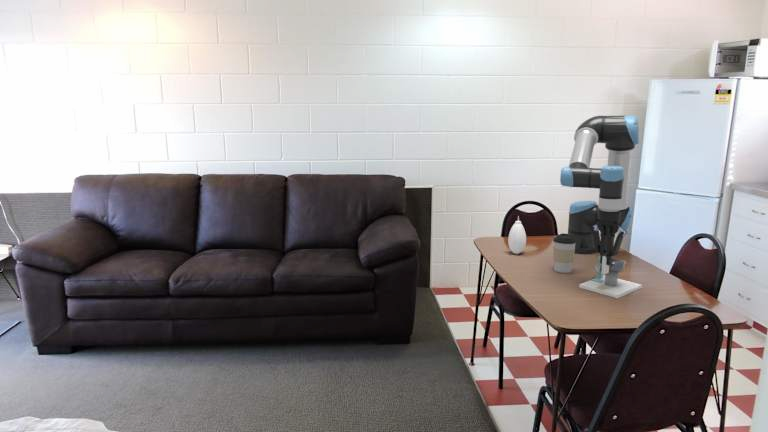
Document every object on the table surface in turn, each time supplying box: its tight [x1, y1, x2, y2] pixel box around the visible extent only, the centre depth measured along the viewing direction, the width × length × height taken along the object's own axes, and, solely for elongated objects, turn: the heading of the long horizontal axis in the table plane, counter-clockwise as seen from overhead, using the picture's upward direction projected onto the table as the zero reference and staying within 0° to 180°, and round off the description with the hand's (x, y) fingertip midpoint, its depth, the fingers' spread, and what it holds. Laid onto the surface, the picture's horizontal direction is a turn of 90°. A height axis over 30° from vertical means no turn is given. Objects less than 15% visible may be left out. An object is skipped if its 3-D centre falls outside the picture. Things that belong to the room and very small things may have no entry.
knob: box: [594, 258, 627, 273], centre depth 197 cm, size 15×8×3 cm, turn 120°
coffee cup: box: [552, 233, 576, 274], centre depth 219 cm, size 9×9×15 cm
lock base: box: [578, 255, 643, 299], centre depth 198 cm, size 18×15×10 cm
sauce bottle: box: [507, 215, 527, 255], centre depth 243 cm, size 8×8×18 cm
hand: (605, 272), depth 193 cm, fingers closed
